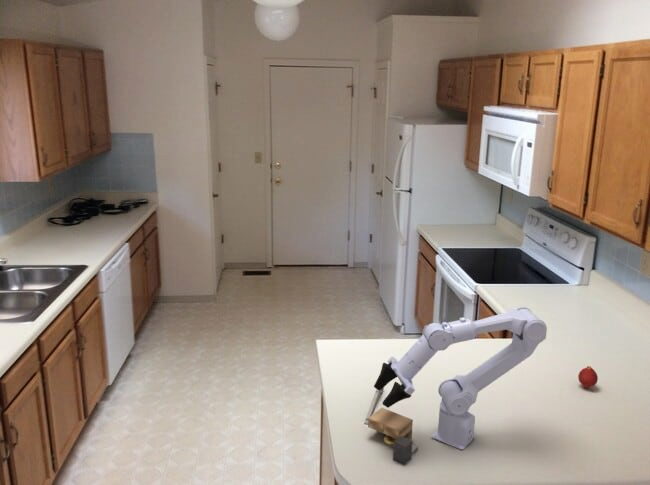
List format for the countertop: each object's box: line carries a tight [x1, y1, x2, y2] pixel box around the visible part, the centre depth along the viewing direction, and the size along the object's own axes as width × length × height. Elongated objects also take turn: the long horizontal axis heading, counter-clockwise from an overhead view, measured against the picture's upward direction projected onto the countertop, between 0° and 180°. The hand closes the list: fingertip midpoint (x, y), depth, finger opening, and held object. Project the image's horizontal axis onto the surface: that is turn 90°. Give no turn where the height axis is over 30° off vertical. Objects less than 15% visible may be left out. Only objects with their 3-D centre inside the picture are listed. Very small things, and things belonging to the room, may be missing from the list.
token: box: [383, 435, 397, 447], centre depth 160 cm, size 4×4×1 cm
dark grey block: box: [392, 436, 419, 466], centre depth 154 cm, size 8×4×6 cm, turn 143°
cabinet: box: [367, 407, 414, 440], centre depth 161 cm, size 10×7×6 cm
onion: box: [577, 365, 599, 389], centre depth 190 cm, size 6×6×8 cm
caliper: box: [364, 387, 385, 425], centre depth 177 cm, size 20×1×6 cm, turn 162°
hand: (380, 396), depth 157 cm, fingers open, 7 cm apart
